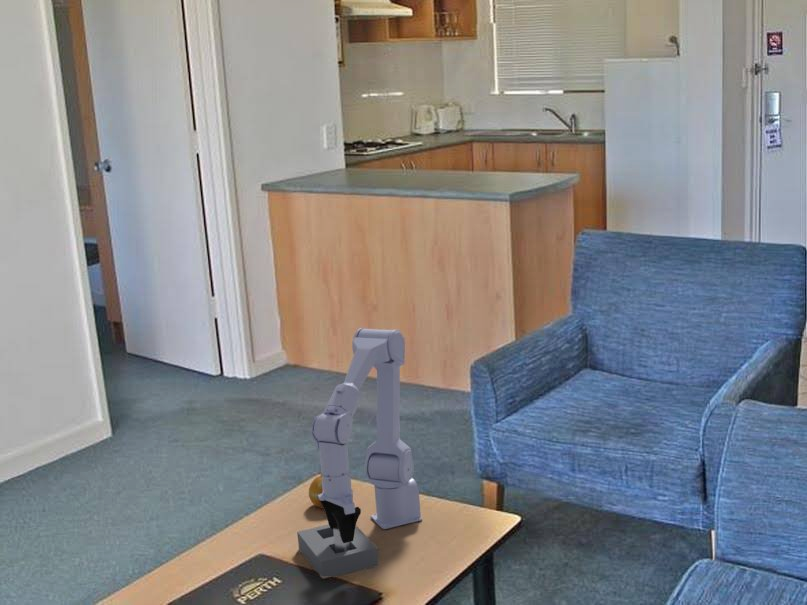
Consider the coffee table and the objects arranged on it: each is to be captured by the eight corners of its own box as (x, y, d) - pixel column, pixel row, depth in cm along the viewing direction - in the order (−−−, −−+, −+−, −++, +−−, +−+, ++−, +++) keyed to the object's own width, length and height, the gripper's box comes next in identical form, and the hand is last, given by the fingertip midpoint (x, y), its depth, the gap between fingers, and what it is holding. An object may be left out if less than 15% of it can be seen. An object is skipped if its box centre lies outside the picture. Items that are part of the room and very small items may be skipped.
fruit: (336, 484, 251) (321, 462, 247) (356, 495, 245) (341, 474, 241) (312, 509, 248) (297, 488, 244) (333, 521, 242) (317, 500, 238)
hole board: (351, 536, 227) (350, 519, 227) (378, 565, 213) (376, 547, 212) (298, 549, 223) (297, 531, 222) (322, 580, 209) (320, 561, 208)
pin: (347, 555, 216) (345, 524, 215) (352, 561, 213) (350, 529, 212) (334, 559, 215) (331, 527, 213) (338, 565, 212) (336, 533, 211)
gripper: (305, 464, 215) (311, 525, 218) (328, 488, 202) (334, 552, 205) (338, 457, 218) (343, 518, 221) (362, 480, 205) (368, 544, 208)
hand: (341, 534), depth 213 cm, fingers open, 7 cm apart
